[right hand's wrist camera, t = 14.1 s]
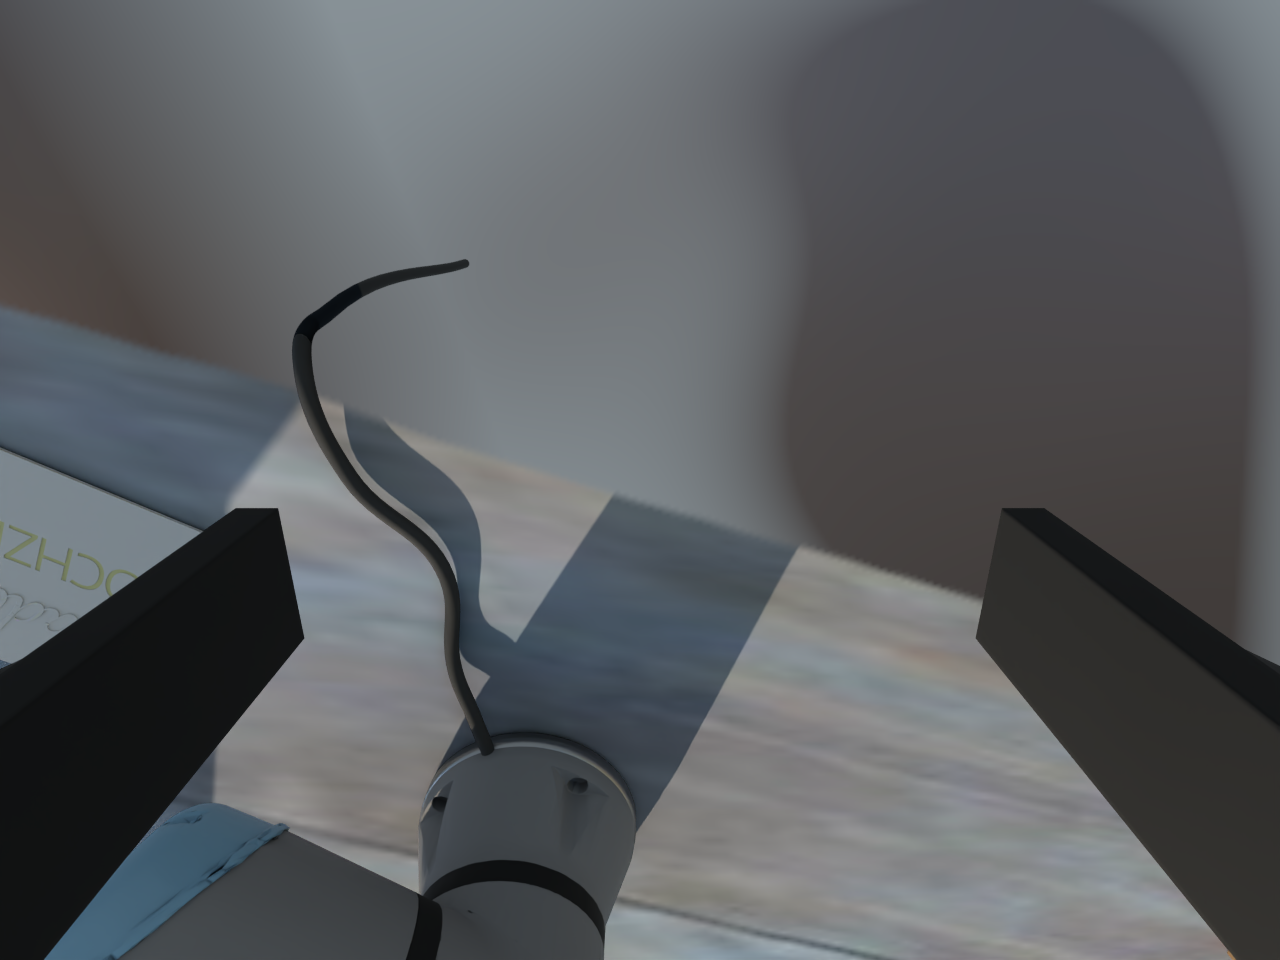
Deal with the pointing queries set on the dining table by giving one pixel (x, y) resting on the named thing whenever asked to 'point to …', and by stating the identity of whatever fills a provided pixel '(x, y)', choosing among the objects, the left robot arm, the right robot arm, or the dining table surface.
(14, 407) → the dining table surface
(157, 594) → the right robot arm
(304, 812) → the dining table surface
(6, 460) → the invitation card
